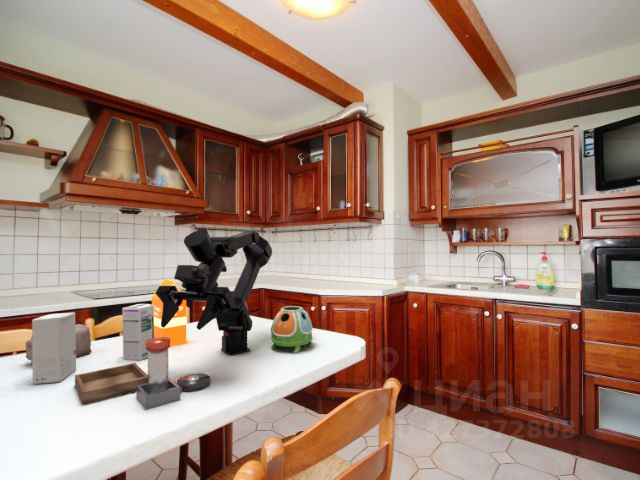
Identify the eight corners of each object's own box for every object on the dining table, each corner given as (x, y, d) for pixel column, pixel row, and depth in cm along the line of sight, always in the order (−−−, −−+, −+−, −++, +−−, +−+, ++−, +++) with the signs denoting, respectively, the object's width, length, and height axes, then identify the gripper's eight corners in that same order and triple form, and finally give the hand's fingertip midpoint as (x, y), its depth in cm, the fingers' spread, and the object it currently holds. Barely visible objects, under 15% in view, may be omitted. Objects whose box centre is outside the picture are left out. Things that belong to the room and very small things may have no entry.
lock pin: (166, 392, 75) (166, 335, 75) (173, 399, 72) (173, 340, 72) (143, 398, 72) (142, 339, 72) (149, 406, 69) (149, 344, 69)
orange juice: (175, 338, 119) (175, 278, 119) (186, 343, 112) (186, 280, 113) (151, 342, 113) (151, 280, 113) (161, 348, 107) (161, 282, 107)
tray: (135, 373, 87) (135, 362, 87) (149, 388, 77) (149, 376, 77) (74, 386, 79) (75, 375, 79) (82, 405, 69) (82, 392, 69)
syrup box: (140, 361, 95) (140, 307, 96) (122, 359, 97) (121, 306, 97) (154, 354, 101) (154, 303, 101) (136, 353, 102) (136, 303, 102)
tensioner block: (202, 376, 84) (202, 366, 84) (218, 388, 77) (218, 376, 77) (133, 394, 74) (133, 382, 74) (145, 409, 67) (145, 396, 67)
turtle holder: (323, 339, 116) (323, 303, 116) (301, 355, 99) (301, 313, 99) (289, 336, 120) (289, 301, 121) (262, 351, 104) (262, 310, 104)
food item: (40, 369, 90) (40, 330, 90) (22, 365, 93) (22, 327, 93) (93, 354, 102) (93, 320, 102) (76, 350, 105) (76, 317, 106)
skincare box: (60, 382, 81) (60, 317, 81) (30, 385, 79) (30, 319, 80) (77, 370, 89) (77, 311, 89) (49, 372, 88) (49, 312, 88)
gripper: (160, 252, 87) (125, 305, 76) (229, 252, 82) (202, 308, 71) (180, 281, 94) (151, 332, 83) (244, 282, 90) (222, 337, 79)
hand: (179, 327), depth 79 cm, fingers open, 9 cm apart
